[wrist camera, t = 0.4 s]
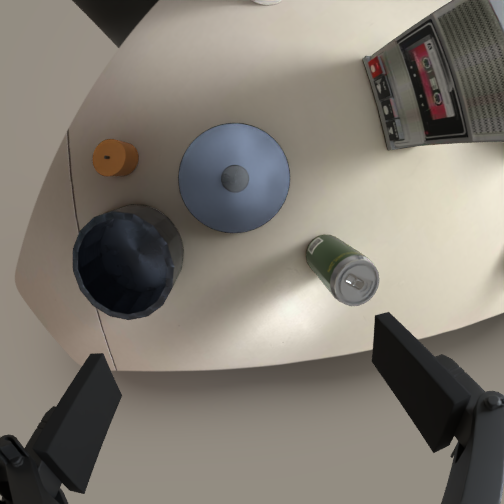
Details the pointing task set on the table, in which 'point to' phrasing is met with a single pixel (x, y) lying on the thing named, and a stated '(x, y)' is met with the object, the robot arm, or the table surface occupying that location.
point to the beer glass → (266, 2)
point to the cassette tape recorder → (443, 77)
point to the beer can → (343, 270)
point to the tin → (128, 261)
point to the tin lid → (234, 178)
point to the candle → (115, 158)
